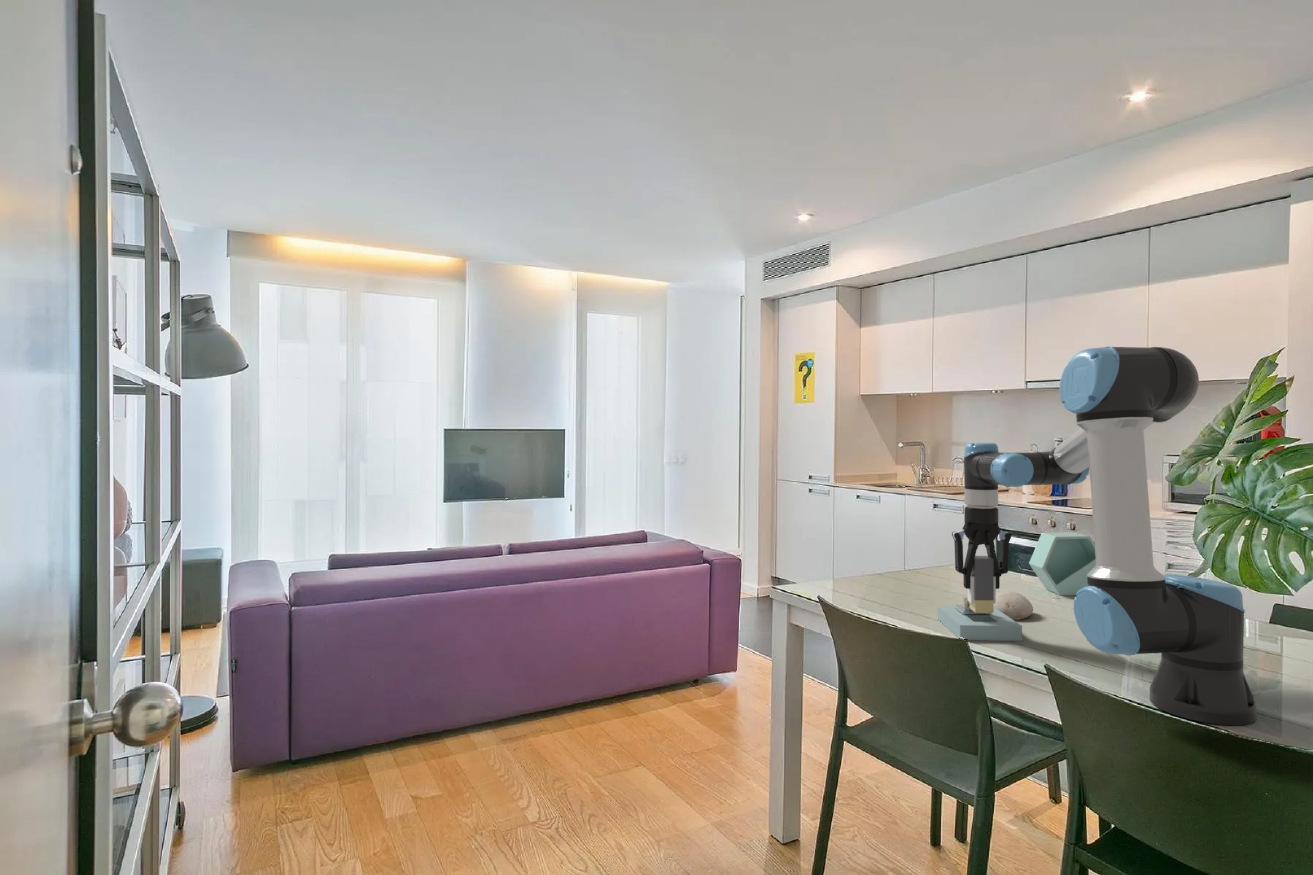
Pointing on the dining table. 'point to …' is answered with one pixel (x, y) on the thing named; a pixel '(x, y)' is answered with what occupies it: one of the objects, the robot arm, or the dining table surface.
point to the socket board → (980, 625)
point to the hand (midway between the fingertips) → (981, 601)
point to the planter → (1063, 561)
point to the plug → (983, 585)
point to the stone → (1013, 605)
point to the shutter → (966, 608)
